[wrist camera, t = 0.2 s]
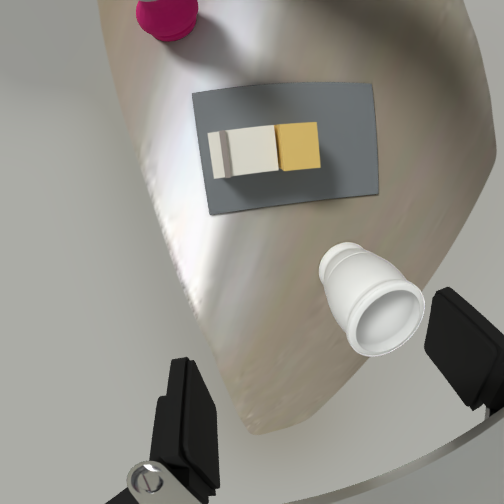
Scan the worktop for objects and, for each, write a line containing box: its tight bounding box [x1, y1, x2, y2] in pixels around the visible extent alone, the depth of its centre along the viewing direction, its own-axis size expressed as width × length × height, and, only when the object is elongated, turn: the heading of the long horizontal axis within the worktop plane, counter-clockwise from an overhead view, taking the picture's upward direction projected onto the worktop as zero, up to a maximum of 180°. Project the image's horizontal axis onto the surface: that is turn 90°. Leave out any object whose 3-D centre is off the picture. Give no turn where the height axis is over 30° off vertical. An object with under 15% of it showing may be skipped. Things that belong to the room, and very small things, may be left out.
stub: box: [274, 122, 321, 171], centre depth 33 cm, size 5×4×7 cm
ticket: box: [208, 125, 279, 179], centre depth 33 cm, size 5×7×6 cm
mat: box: [192, 82, 378, 215], centre depth 36 cm, size 16×24×1 cm, turn 97°
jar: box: [319, 242, 425, 356], centre depth 38 cm, size 11×10×15 cm
